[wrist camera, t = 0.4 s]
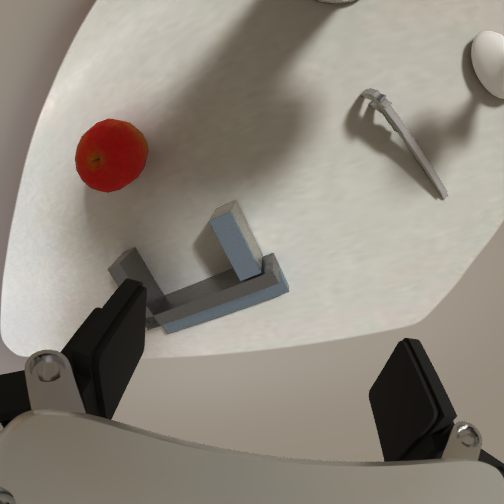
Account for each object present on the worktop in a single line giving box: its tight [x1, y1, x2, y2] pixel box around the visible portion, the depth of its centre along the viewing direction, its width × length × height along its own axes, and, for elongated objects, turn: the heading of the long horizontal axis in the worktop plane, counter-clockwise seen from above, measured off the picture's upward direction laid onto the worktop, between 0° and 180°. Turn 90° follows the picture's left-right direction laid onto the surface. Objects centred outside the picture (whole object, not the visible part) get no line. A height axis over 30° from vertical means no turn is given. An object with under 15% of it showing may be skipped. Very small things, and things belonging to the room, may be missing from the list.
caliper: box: [361, 88, 448, 199], centre depth 38 cm, size 20×1×6 cm, turn 47°
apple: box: [75, 119, 148, 193], centre depth 38 cm, size 9×9×12 cm
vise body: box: [108, 247, 289, 334], centre depth 47 cm, size 16×22×6 cm
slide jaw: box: [209, 200, 263, 281], centre depth 44 cm, size 9×3×6 cm, turn 25°
